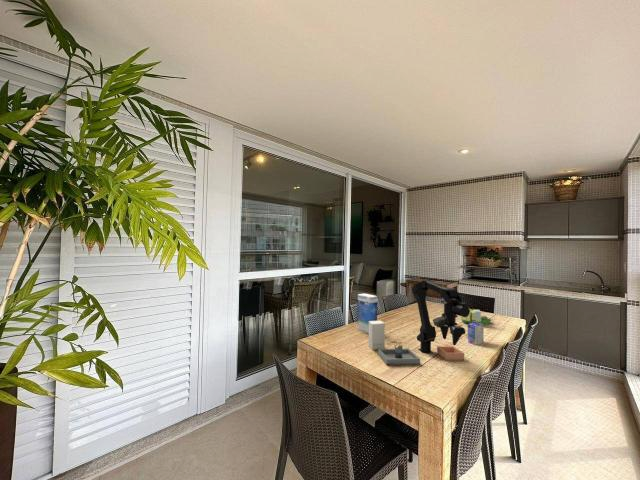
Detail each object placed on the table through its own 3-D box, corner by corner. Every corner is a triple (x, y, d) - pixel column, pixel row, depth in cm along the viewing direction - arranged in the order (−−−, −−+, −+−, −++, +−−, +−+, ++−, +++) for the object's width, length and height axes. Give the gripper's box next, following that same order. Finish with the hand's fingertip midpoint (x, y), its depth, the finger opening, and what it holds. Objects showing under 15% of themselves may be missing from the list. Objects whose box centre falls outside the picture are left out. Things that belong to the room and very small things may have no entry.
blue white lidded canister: (377, 332, 196) (378, 296, 196) (369, 334, 191) (370, 297, 192) (364, 327, 207) (364, 293, 207) (356, 329, 202) (357, 294, 203)
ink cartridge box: (475, 340, 185) (475, 318, 185) (484, 342, 180) (484, 320, 180) (466, 342, 180) (467, 320, 180) (475, 345, 175) (475, 322, 175)
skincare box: (380, 345, 171) (381, 320, 171) (385, 349, 164) (385, 323, 164) (367, 346, 169) (368, 320, 170) (371, 350, 163) (372, 323, 163)
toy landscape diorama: (473, 317, 245) (473, 302, 245) (498, 322, 229) (498, 306, 229) (453, 323, 223) (453, 307, 224) (480, 330, 208) (480, 312, 208)
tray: (378, 354, 157) (378, 349, 157) (408, 353, 159) (408, 348, 159) (386, 365, 143) (386, 359, 143) (420, 364, 145) (420, 358, 145)
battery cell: (393, 356, 152) (393, 344, 153) (400, 355, 153) (400, 343, 153) (396, 359, 148) (396, 346, 149) (403, 358, 149) (403, 346, 149)
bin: (437, 353, 160) (437, 346, 160) (453, 353, 161) (453, 346, 161) (446, 360, 150) (446, 353, 150) (464, 360, 151) (464, 353, 151)
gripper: (426, 308, 155) (426, 336, 155) (444, 317, 137) (444, 349, 136) (445, 308, 156) (445, 336, 156) (466, 317, 138) (465, 348, 137)
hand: (449, 342), depth 146 cm, fingers open, 9 cm apart
